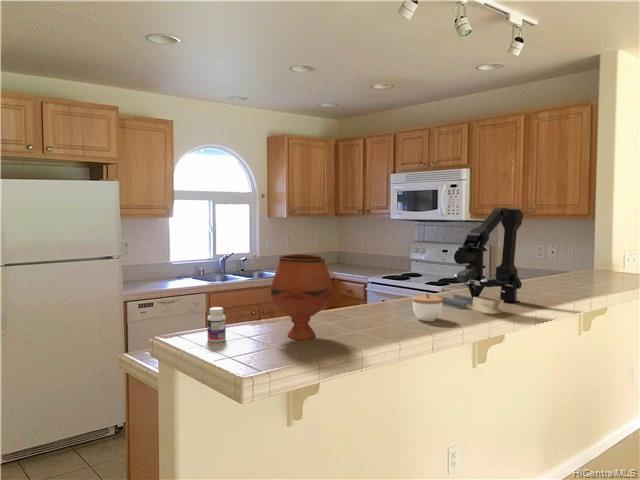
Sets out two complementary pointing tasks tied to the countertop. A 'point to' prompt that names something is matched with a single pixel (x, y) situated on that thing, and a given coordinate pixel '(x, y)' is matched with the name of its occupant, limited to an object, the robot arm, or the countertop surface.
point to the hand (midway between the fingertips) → (474, 301)
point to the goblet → (301, 290)
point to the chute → (457, 301)
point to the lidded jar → (427, 307)
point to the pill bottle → (216, 325)
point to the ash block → (488, 304)
